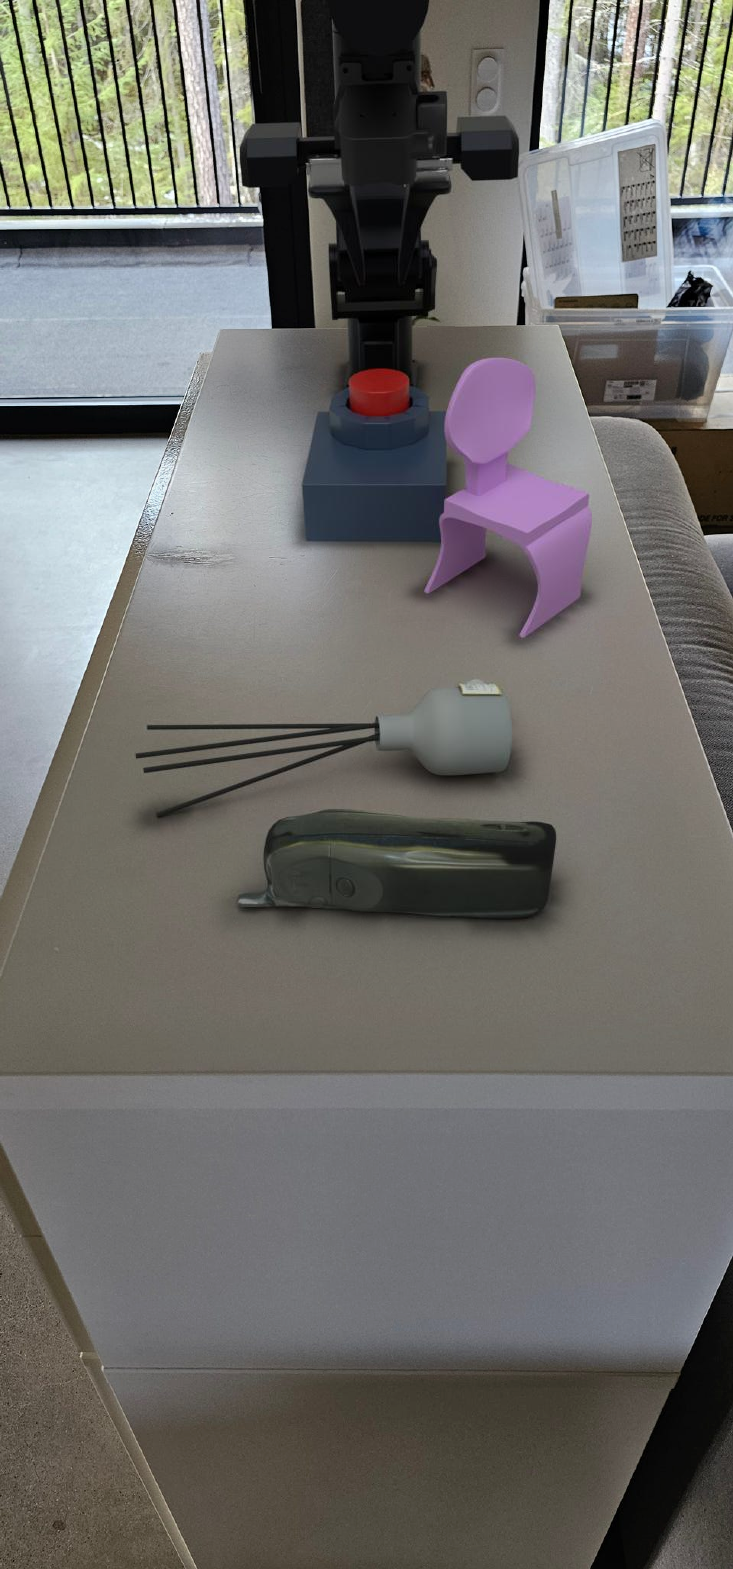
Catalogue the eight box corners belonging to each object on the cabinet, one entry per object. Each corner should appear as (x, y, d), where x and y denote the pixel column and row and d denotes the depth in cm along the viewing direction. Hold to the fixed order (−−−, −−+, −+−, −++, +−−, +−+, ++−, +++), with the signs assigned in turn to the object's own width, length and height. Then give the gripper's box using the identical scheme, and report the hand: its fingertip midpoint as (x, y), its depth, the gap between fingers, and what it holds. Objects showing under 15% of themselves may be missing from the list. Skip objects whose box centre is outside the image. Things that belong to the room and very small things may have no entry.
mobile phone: (556, 807, 51) (235, 802, 52) (562, 854, 49) (227, 847, 49) (545, 880, 54) (243, 874, 55) (550, 927, 52) (236, 920, 53)
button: (352, 395, 83) (351, 368, 82) (410, 395, 83) (410, 368, 82) (347, 420, 80) (346, 392, 79) (408, 420, 80) (408, 392, 78)
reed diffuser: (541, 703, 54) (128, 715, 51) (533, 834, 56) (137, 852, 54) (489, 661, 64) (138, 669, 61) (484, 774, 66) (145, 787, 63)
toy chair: (519, 649, 69) (538, 418, 59) (413, 599, 73) (413, 376, 63) (595, 593, 73) (624, 370, 63) (490, 549, 78) (502, 334, 68)
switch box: (321, 461, 89) (316, 382, 84) (445, 461, 88) (447, 381, 84) (306, 542, 79) (299, 457, 75) (444, 542, 79) (446, 457, 74)
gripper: (218, 57, 65) (246, 326, 75) (535, 46, 64) (518, 318, 75) (236, 26, 73) (259, 273, 84) (517, 16, 73) (504, 265, 83)
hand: (381, 282), depth 81 cm, fingers open, 3 cm apart
